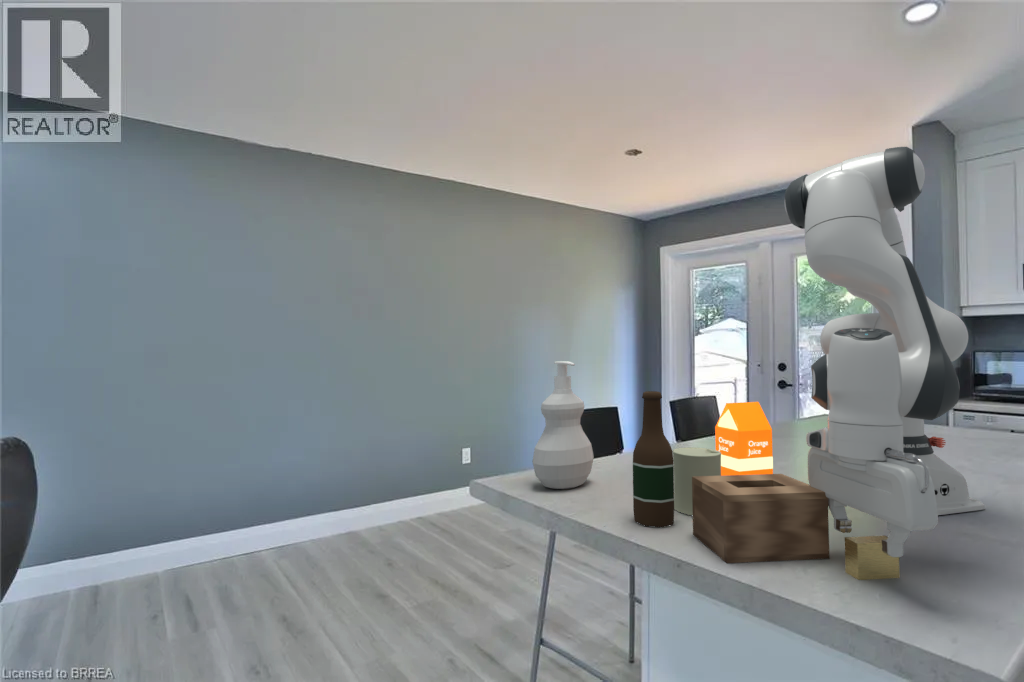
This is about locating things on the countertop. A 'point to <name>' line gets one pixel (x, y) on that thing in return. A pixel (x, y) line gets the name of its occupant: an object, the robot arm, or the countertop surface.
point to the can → (692, 473)
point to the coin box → (760, 518)
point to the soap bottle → (562, 437)
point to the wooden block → (869, 559)
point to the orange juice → (744, 440)
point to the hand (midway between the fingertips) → (866, 542)
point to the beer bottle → (653, 468)
